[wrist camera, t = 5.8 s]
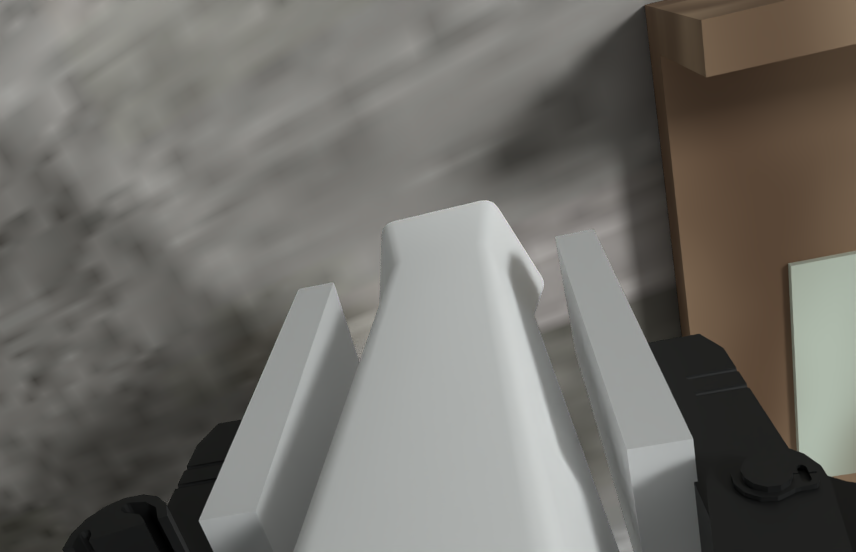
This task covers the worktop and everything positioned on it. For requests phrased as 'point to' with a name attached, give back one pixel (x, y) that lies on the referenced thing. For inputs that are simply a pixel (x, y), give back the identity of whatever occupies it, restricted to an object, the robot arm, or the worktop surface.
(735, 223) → the brown wooden flat tray
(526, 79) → the worktop surface
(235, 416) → the worktop surface
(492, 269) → the white faceted vase
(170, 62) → the worktop surface
